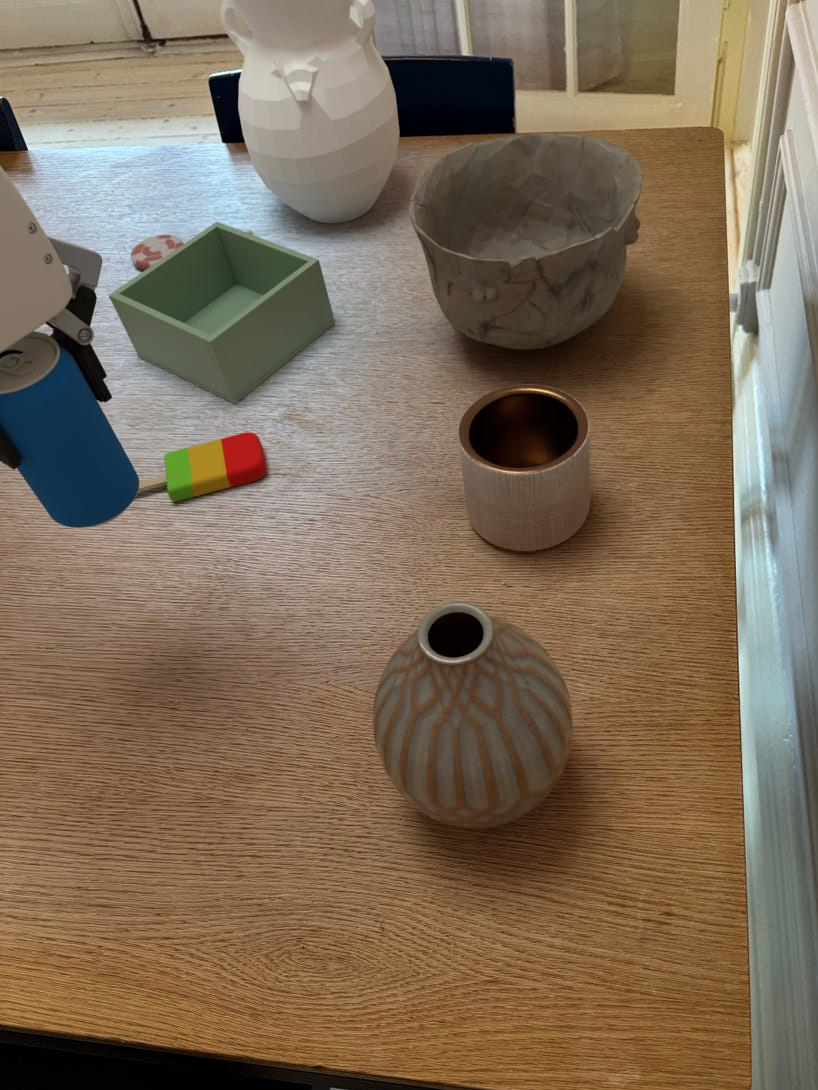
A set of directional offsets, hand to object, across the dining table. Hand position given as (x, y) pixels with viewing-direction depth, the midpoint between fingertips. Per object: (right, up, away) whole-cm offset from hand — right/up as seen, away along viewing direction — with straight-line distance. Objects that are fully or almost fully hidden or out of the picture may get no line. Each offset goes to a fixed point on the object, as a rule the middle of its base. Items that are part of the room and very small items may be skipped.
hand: (50, 423), depth 56 cm
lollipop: (-8, +34, +52) cm, 63 cm away
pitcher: (+10, +42, +56) cm, 70 cm away
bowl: (+33, +19, +37) cm, 54 cm away
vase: (+28, -24, +8) cm, 37 cm away
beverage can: (+1, -4, +6) cm, 7 cm away
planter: (+32, -2, +22) cm, 39 cm away
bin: (+1, +19, +41) cm, 45 cm away
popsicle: (0, +1, +29) cm, 29 cm away
